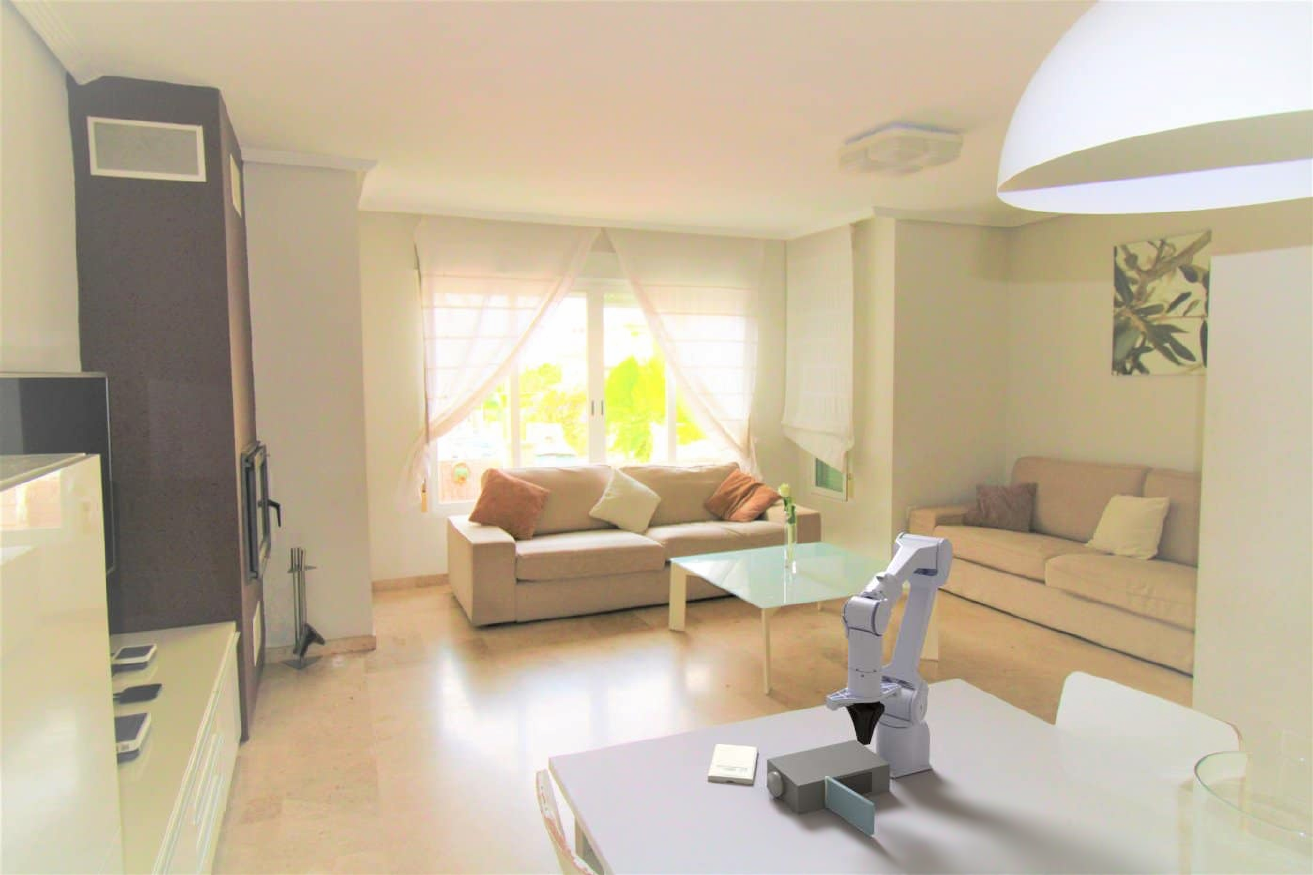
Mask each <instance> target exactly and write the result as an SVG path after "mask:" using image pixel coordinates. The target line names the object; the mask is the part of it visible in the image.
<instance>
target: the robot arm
mask: <svg viewBox="0 0 1313 875" xmlns="http://www.w3.org/2000/svg"><path fill="white" fill-rule="evenodd" d="M953 559H954V554H953V545H952V543H951V541H950V539H949V538H947V537H933V536H927V535H920V534H912V533H907V532H903V531H902V532H900V533H899V534H898V535H897V536H896V538H895V540H894V543H893V558H892V560H891V561H890V563H889V565H888V566H887V568H886V570H885V571H881V572H877V573H876V574H875V575H874V576H873V577H872V579H871V580H870V581H869V582H868V583H867V584H866V586H865V587H864V588H863V590H862V591H861V592H860V594H859V595H858V596H857V595H854V596H852V597H849V598H847V600H846V601H845V603H844V606H843V611H842V614H841V622H842V625H843V627H844V636H845V638H846V639H847V643H848V644H847V683H846V687H845V688H843V689H841V690H839V691H837V692H834V693H831V694H829V695H826V697H825V707H826V708H828V709H829V710H830V711H832V712H834V711H835V712H836V711H837V710H838V709H840V708H844V707H845V708H846V710H847V712H848V714H849V716H850V719H851V721H852V725H853V727H854V731H855V737H856V740H857V741H858V742H859V743H861V744H862V745H864V746H867V745H871V743H872V739H873V736H874V732H876V733H875V754H877V755H878V756H880V757H881V758H883V759H884V760H886V761H887V762H889V763H890V779H891V778H893V779H894V778H899V777H904V776H908V775H911V774H915V773H919V772H924V771H927V770H931V769H933V765H932V764H931V763H930V757H931V755H930V753H931V750H930V749H931V747H930V746H931V732H930V728H929V725H928V723H927V721H926V720H925V716H926V715H927V711H928V698H929V692H930V691H929V685H928V683H927V682H926V680H925V679H924V678H923V677H922V676H921V674H920V673H919V672H918V668H919V665H920V661H921V657H922V654H923V649H924V645H925V644H924V643H925V640H926V635H927V632H928V627H929V624H930V620H931V615H932V613H933V612H932V611H933V607H934V603H935V600H936V597H937V596H936V595H937V592H938V589H939V588H941V587H942V586H945V585H946V584H948V583H947V582H948V579H949V576H950V572H951V569H952V565H953ZM905 582H908V583H909V591H908V593H907V599H906V602H905V606H904V610H903V614H902V617H901V622H900V625H899V629H898V633H897V637H896V641H895V645H894V648H893V652H892V656H891V661H890V662H889V663H888V664H886V665H883V643H884V642H883V638H884V633H885V632H886V631H887V629H888V626H889V622H890V618H891V617H892V614H893V613H892V612H893V611H892V609H893V608H894V607H895V605H896V604H897V603H898V601H899V600H900V599H901V597H902V596H903V594H904V587H903V584H904V583H905ZM875 729H876V730H875Z"/></svg>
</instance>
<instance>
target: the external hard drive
mask: <svg viewBox="0 0 1313 875" xmlns="http://www.w3.org/2000/svg"><path fill="white" fill-rule="evenodd" d="M714 747H715V748H714V751H713V754H712V758H711V763H710V766H709V771H708V775H707V781H712V782H713V781H714V782H723V783H727V782H729V783H731V782H732V783H735V784H745V785H754V780H755V774H756V773H755V772H756V765H757V760H758V753H759V748H758V747H756V746H749V745H735V744H726V743H725V744H724V743H716V745H715V746H714Z"/></svg>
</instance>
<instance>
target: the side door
mask: <svg viewBox="0 0 1313 875" xmlns="http://www.w3.org/2000/svg"><path fill="white" fill-rule="evenodd" d="M825 807H826V808H828V809H829V810H830V811H832V812H833V813H835V814H837V815H838V816H839V817H841V818H843V819H844V820H846V821H848V822H849V823H851V824H852V825H854V826H855V827H856V828H858V829H859V830H861V831H863V832H864V833H866V834H867V835H869V836H874V835H875V823H876V822H875V821H876V820H875V818H876V817H875V814H876V813H875V812H876V810H875V809H876V808H875V807H876V804H875V803H874V802H872V801H871V800H869V799H867V797H862V796H861V795H859V794H857V793H856V792H854V791H852V790H851V789H849V788H847V787H846V786H844V785H842V784H841V783H839V782H837V781H836V780H834V779H832V778H831V777H830V776H825Z"/></svg>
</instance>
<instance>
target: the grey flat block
mask: <svg viewBox="0 0 1313 875" xmlns="http://www.w3.org/2000/svg"><path fill="white" fill-rule="evenodd" d="M766 760H767V761H766V777H767V778H766V787H767V788H768V790H769V792H770V794H771V795H772V796H773V798H777V797H778V798H779V799H780V800H781V801H783V803H785V804H786V805H787V806H788V807H789V808H790V809H791V810H792V812H794V813H795V814H797V815H802V814H805V813H808V812H809V813H811V812H814V811H817V810H821V809H824V808H827V807H825V776H830V777H831V778H832V779H834V780H836V781H837V782H839V783H841V784H842V785H844V786H846V787H847V788H849V789H851V790H852V791H854V792H856V793H857V794H859V795H861V796H862V797H864V798H867V797H871V796H875V795H881V794H883V793H887V792H890V788H891V777H890V763H889V762H887V761H886V760H884V759H883V758H881V757H880V756H878V755H877V754H876V752H874V751H873V750H871V749H869V748H868V747H867V746H866V745H863V744H861V743H860V742H858V741H857V739H853V740H848V741H842V742H839V743H835V744H834V743H833V744H829V745H825V746H820V747H816V748H811V749H807V750H806V749H805V750H803V751H798V752H794V753H788V754H784V755H780V756H775V757H771V758H767V759H766Z"/></svg>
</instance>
